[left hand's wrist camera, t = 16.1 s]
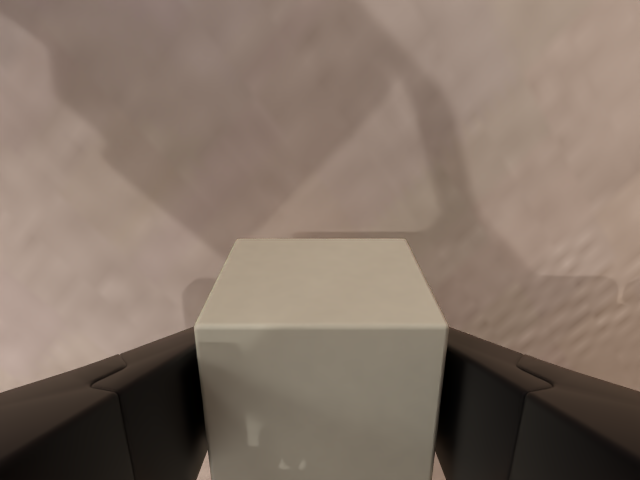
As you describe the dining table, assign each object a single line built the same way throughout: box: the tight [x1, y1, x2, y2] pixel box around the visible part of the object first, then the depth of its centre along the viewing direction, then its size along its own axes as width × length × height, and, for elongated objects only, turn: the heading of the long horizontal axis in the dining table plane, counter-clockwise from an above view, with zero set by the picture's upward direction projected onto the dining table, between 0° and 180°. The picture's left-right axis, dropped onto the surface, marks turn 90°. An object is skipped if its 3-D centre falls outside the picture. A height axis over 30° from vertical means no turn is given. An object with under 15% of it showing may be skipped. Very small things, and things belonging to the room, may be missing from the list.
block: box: [194, 239, 449, 480], centre depth 10 cm, size 4×4×4 cm
